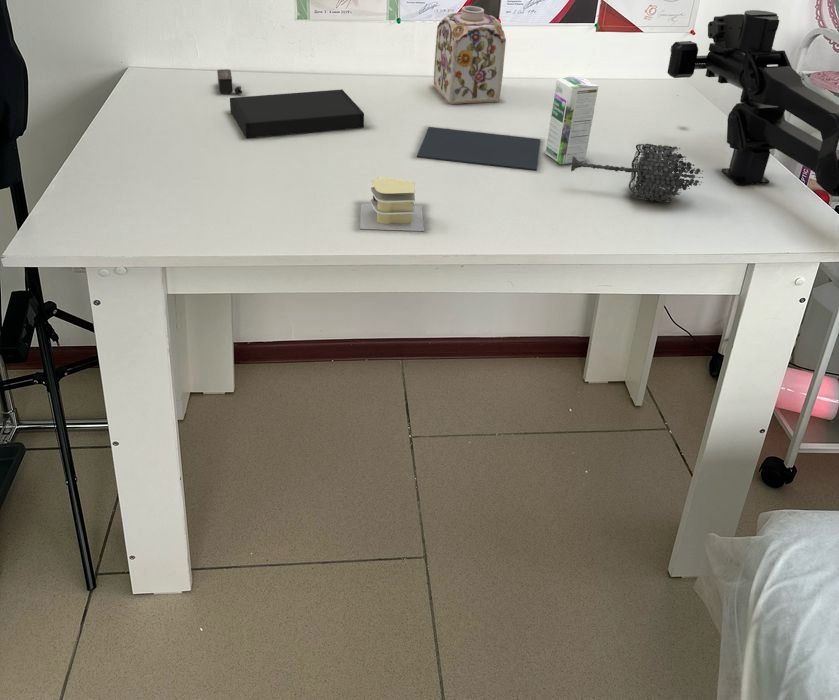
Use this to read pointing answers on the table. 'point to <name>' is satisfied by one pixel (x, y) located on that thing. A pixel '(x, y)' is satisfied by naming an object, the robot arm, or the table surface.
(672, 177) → the grey chandelier
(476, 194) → the table surface
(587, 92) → the syrup box
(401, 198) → the stacked layers on plate
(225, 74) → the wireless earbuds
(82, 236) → the table surface
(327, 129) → the external hard drive
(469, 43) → the decorative jar
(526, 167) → the mat
